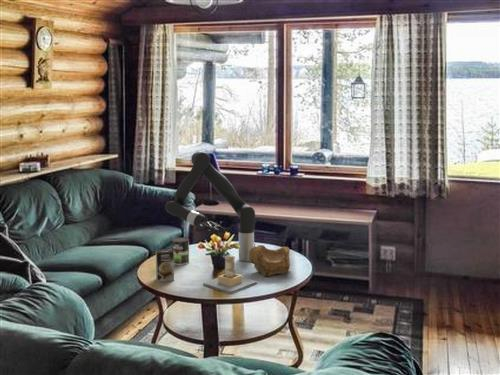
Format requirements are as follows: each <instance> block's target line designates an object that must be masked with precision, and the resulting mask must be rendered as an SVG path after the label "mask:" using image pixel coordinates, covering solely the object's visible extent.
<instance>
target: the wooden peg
mask: <svg viewBox="0 0 500 375" xmlns="http://www.w3.org/2000/svg"><path fill="white" fill-rule="evenodd" d="M235 260H236V259H235V255H233V254H229V255H225V256H224V274H225V277H227V278H230V279H231V278H234V277H235V274H236V272H235V271H236V269H235V267H236V264H235V262H236V261H235Z"/></svg>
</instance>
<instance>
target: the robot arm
mask: <svg viewBox="0 0 500 375" xmlns="http://www.w3.org/2000/svg"><path fill="white" fill-rule="evenodd" d="M190 158H191V163H192V167H191V169H190V171H189V173H188V174H187V175H186V176H185V177H184V178H183V179H182V181H181V182H180V184H179V186H178V187H177V189H176V190H175V192H174V197H175V198H174V200H170V201H167V202H166V203H165V204H164V205H165V206H164V208H165V211H166V212H167V213H169V214H170V215H172V216H173V217H178V218H179V219H181V220H183V221H185V222H186V223H189V225H192V227H196V228H198V229H200V230H202V229H204V230H205V231H206V232H207V231H209V232H213V233H214V234H218V233H219V231H220V232H222V233H225V232H226V228H225V227H223V226H222V225H221V224H219V223H217V222H216V221H215V222H214V221H212V220H209V221H208V216H206V215H204V214H202V213H201V212H198V211H195V210H192V209H190V208H188V207H186V206H185V203H186V200H187V198H188V196H189V195H190V192H191V190H192V189H193V187H194V186H195V184H196V183H197V181H198V180H199V178H200V177H201V175H203V176H204V177H205V178H206V180H208V183H210V185H211V186H212V188H214V190H215V191H216V192H217V193H218V194H219V196H221V197H222V199H223V200H225V201H226V202H227V203H228V204H229V205H230V206H231V208H232V209H233V210H234V212H235V213H236V216H238V218H239V221H240V222H239V227H238V246H239V245H240V248H239V247H238V261H240V262H246V263H247V262H248V263H249V262H250V260H249V251H250V250H251V248H253V247H256V243H255V227H256V212H255V209H254V208H253V207H252V206H250V205H249V204H248V203H246V202H245V200H243V199H242V198H241V197H240V196H239V193H238V191H237V190H236V189H235V186H234V185H233V184H232V183H231V182H230V181H229V179H228V178H227V177H226V176H225V175H224V174H222V173H221V172H220V171H219V170H217V169H216V168H215V167H214V166H213V164H212V163H211V156H210V155H209V154H208V153H207V152H204V151H196V152H194V153H193V154H192V155H191V157H190Z"/></svg>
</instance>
